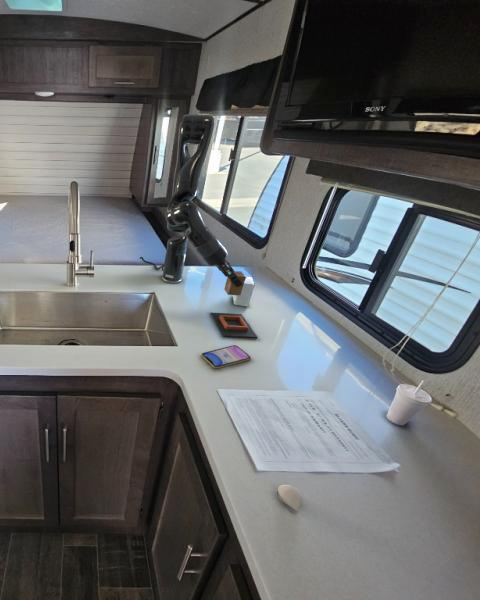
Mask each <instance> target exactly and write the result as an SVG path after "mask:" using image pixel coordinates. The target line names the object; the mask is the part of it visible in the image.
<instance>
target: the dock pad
mask: <svg viewBox="0 0 480 600" xmlns="http://www.w3.org/2000/svg"><path fill="white" fill-rule="evenodd" d="M210 316H211V318H212V319H213V321H214V323H215V325H216V327H217V328H218V331H219V332H220V334H221V336H222V337H223V338H233V339H252V340H257V339H258V335H257V334H256V332H255V331H254V330H253V328H252V327H251V325H250V324H249V323H248V321H247V320H246V319H245V317H244V316H243V314H242V313H228V312H210Z"/></svg>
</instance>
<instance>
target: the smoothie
mask: <svg viewBox="0 0 480 600" xmlns="http://www.w3.org/2000/svg"><path fill="white" fill-rule="evenodd" d="M426 382H427V381H426V380H425V379H422V380H421V382H419V384H418V386H415V385H412V384H408V383H400V384H399V385H397V387H396V389H395V390H396V392H395V395H394V397H393V399H392V402H391V404H390V407H389V409H388V411H387V414H386V418H387V420H388V421H390V422H391V423H393V424H395V425H397V426H405V425H407V424H408V422H409V421H410V420H412V419H413V418H414V417H415V416H416V415H417V414H418V413H420V411H421V410H422V409H424V408H425V407H426V406H429V405H431V403H432V402H433V397H432V396H431V395H430V394H429V393H428V392H427V391H425V390H423V389H422V387H423V386H424V385H425V384H426Z"/></svg>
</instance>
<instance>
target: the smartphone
mask: <svg viewBox="0 0 480 600" xmlns="http://www.w3.org/2000/svg"><path fill="white" fill-rule="evenodd" d="M200 355H201V357H202V358H203V360H205V361H206V362H207V363H208V364H209V365H210V366H211V368H213V369H220V368H225V367H229V366H232V365H236V364H240V363H243V362H247V361H251V359H252V357H251V356H250V355H249V354H248V353H247V352H245V351H244V350H243V349H242V348H240V347H239V346H238V345H236V344H234V345H230V346H225V347H222V348H217V349H213V350H209V351H205V352H202V353H201V354H200Z"/></svg>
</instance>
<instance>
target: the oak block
mask: <svg viewBox="0 0 480 600" xmlns="http://www.w3.org/2000/svg"><path fill="white" fill-rule="evenodd" d="M234 273H235V274H236V275H237V276H238V279H239V280H240V281H241V282H242V285H241V286H239V287H236V286H235V285H234V283H233V282H231V281H230V280H229V278H228V277H226V281H225V284H224V288H223V290H224V291H225V293H226V294H227V295H228V296H233V295H241V292H242V288H243V285H244V282H245V278H246V277H247V276H246V275H245V274H244V273H243V271H242V270H241V271H239V270H237V271H236V270H234Z"/></svg>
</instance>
